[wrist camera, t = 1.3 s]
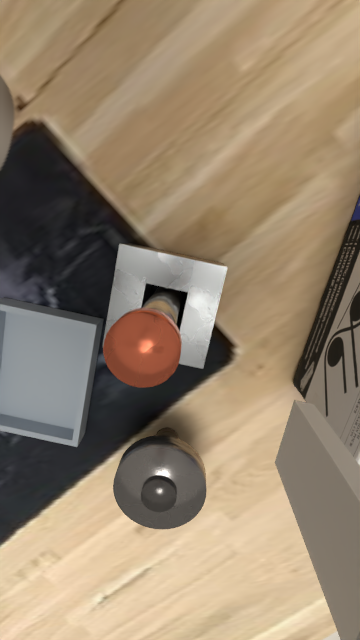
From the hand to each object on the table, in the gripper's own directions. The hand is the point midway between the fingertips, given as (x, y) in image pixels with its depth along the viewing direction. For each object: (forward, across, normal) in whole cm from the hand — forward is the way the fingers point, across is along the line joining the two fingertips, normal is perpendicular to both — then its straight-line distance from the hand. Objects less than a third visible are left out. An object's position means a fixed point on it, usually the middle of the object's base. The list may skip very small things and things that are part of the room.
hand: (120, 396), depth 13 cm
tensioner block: (+21, 0, 0) cm, 21 cm away
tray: (+21, -11, -10) cm, 26 cm away
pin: (+21, 0, 0) cm, 21 cm away
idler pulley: (+21, +3, -14) cm, 26 cm away
